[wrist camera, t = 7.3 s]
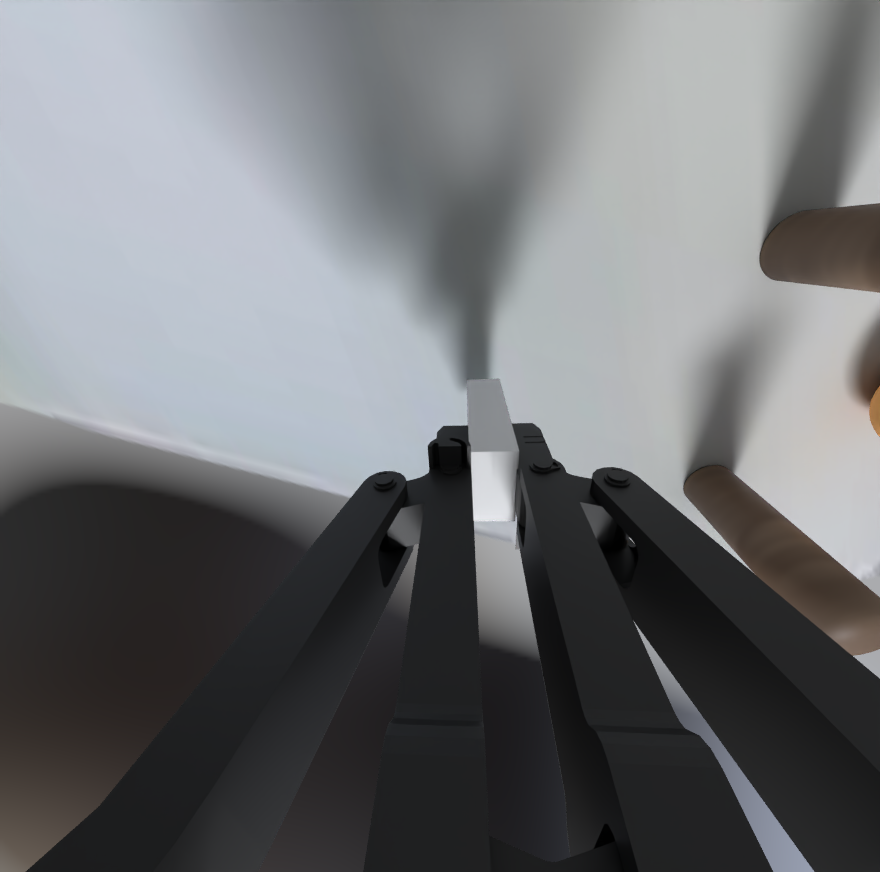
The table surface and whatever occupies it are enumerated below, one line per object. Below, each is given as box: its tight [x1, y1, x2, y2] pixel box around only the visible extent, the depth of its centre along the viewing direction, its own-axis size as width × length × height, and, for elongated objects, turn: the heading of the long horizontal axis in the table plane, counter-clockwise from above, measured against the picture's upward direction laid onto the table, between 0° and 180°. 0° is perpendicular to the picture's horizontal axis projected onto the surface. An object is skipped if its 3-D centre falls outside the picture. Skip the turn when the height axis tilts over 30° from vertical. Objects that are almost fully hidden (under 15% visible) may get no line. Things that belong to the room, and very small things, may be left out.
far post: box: [684, 465, 880, 656], centre depth 17 cm, size 3×3×9 cm
